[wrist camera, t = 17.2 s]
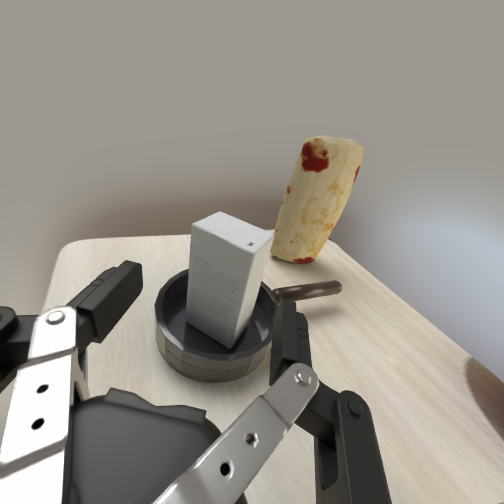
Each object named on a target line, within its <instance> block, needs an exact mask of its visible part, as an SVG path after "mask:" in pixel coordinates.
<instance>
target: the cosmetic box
mask: <svg viewBox="0 0 504 504" xmlns="http://www.w3.org/2000/svg"><path fill="white" fill-rule="evenodd" d="M273 239H274V234H273V233H270V232H268V231H265V230H263V229H260V228H258V227H255V226H253V225H251V224H248V223H246V222H244V221H241V220H239V219H236V218H234V217H232V216H229V215H227V214H225V213H222V212H218V213H216V214H213V215H211V216H209V217H207V218H205V219H202V220H200V221H198V222H195V223H193V224H192V226H191V245H190V261H189V275H188V289H187V304H186V322H187V323H189V324H190V325H192V326H193V327H195V328H197V329H198V330H200V331H201V332H203V333H205V334H206V335H208V336H209V337H211V338H213V339H214V340H216V341H217V342H219V343H220V344H222V345H224V346H225V347H227V348H228V349H231V348H232V347H233V345H234V344H235V343H236V341H237V340H238V339H239V337H240V336H241V334H242V333H243V331H244V330H245V329H246V327H247V326H248V325H249V323H250V319H251V316H252V312H253V309H254V305H255V302H256V298H257V295H258V291H259V288H260V284H261V281H262V277H263V274H264V270H265V267H266V263H267V260H268V256H269V252H270V249H271V246H272V242H273Z"/></svg>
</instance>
